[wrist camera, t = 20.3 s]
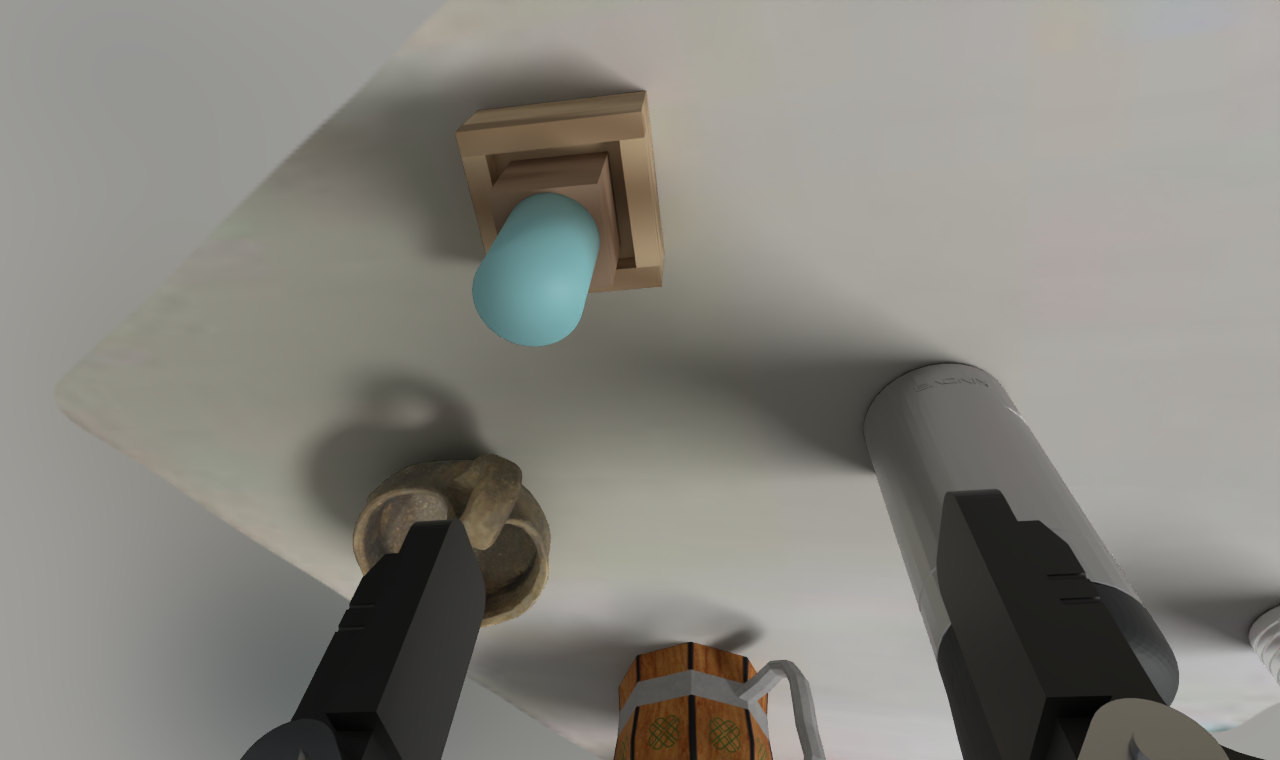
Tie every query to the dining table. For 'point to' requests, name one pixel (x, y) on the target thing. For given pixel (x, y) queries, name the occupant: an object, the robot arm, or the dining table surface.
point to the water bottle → (1267, 640)
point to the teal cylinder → (538, 271)
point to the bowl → (466, 525)
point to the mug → (707, 707)
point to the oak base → (571, 132)
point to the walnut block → (577, 180)
